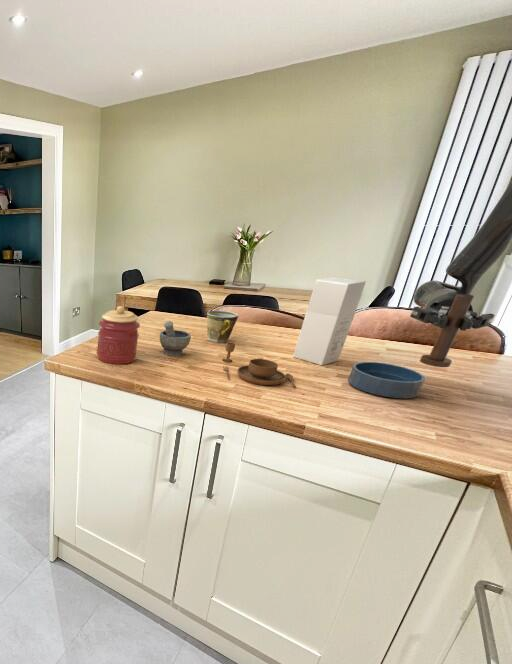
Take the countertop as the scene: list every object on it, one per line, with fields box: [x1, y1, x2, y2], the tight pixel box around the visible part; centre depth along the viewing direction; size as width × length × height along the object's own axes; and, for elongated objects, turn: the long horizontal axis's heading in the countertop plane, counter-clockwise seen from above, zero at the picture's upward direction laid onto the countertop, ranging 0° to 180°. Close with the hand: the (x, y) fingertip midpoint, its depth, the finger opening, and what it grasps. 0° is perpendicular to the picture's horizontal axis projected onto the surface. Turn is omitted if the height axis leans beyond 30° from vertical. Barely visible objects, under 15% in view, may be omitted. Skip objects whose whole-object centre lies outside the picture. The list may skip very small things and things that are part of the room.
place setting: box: [222, 341, 296, 388], centre depth 118 cm, size 18×20×6 cm
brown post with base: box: [419, 294, 475, 368], centre depth 90 cm, size 5×5×16 cm
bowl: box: [347, 361, 426, 399], centre depth 106 cm, size 14×14×5 cm
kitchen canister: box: [96, 305, 141, 365], centre depth 131 cm, size 13×13×18 cm
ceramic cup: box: [206, 310, 239, 344], centre depth 144 cm, size 13×10×10 cm
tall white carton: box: [292, 276, 367, 366], centre depth 123 cm, size 9×9×25 cm
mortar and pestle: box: [159, 320, 192, 357], centre depth 134 cm, size 11×9×12 cm
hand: (454, 324), depth 87 cm, fingers closed on brown post with base, 2 cm apart
